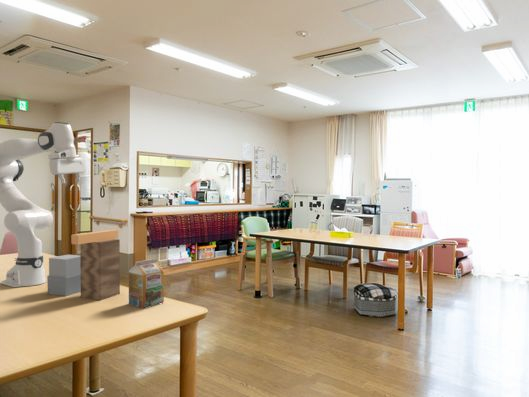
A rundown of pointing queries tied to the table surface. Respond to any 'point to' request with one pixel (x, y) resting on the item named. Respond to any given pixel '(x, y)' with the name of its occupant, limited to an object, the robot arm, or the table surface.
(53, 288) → the slate pedestal
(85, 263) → the walnut post
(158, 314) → the table surface
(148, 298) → the milk carton
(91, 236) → the orange bar
